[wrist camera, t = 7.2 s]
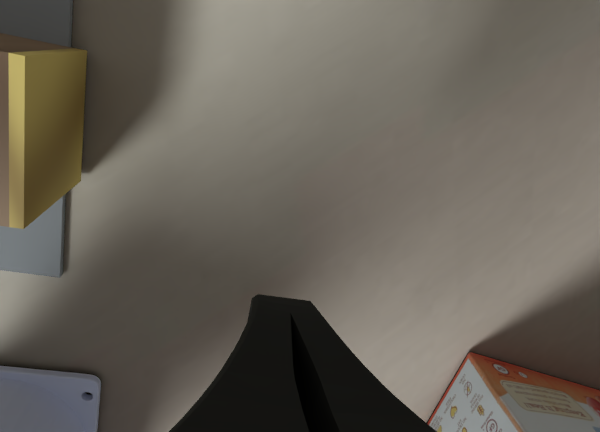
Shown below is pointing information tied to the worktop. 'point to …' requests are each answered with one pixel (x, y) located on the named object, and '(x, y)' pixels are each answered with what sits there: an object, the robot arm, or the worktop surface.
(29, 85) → the brown wooden block
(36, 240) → the grey mat
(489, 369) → the cracker box
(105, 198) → the worktop surface
